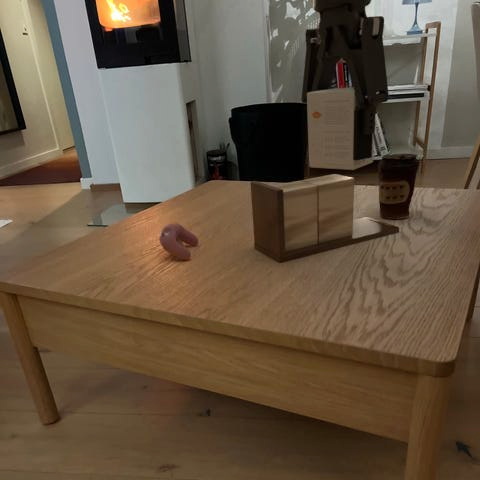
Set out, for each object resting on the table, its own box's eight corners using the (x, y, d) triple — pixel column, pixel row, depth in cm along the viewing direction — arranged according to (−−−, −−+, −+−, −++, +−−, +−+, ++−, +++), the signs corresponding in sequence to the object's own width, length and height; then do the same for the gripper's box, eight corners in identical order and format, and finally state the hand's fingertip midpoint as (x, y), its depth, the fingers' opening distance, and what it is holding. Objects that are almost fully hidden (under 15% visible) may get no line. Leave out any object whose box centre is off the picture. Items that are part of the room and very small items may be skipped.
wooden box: (399, 231, 96) (404, 165, 90) (279, 262, 86) (276, 190, 80) (366, 221, 104) (369, 159, 98) (254, 248, 94) (249, 181, 88)
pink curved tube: (183, 251, 100) (164, 223, 98) (201, 241, 99) (182, 212, 96) (172, 269, 92) (151, 238, 89) (192, 258, 90) (171, 227, 88)
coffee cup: (409, 223, 101) (415, 159, 95) (370, 220, 105) (373, 159, 99) (418, 212, 107) (424, 151, 101) (381, 209, 111) (384, 151, 105)
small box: (373, 163, 71) (376, 85, 66) (353, 170, 68) (355, 89, 63) (328, 160, 76) (328, 88, 71) (307, 167, 73) (306, 91, 68)
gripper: (273, -11, 68) (281, 152, 79) (378, -49, 51) (370, 168, 61) (316, -12, 71) (318, 145, 81) (430, -49, 53) (414, 158, 64)
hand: (340, 155), depth 71 cm, fingers closed on small box, 9 cm apart
